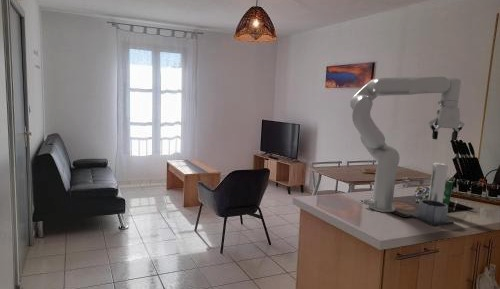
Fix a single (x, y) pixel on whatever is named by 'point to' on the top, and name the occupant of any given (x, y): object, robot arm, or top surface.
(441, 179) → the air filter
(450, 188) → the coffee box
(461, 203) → the top surface
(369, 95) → the robot arm
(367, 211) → the top surface
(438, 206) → the collar
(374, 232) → the top surface
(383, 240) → the top surface
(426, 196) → the passion flower
